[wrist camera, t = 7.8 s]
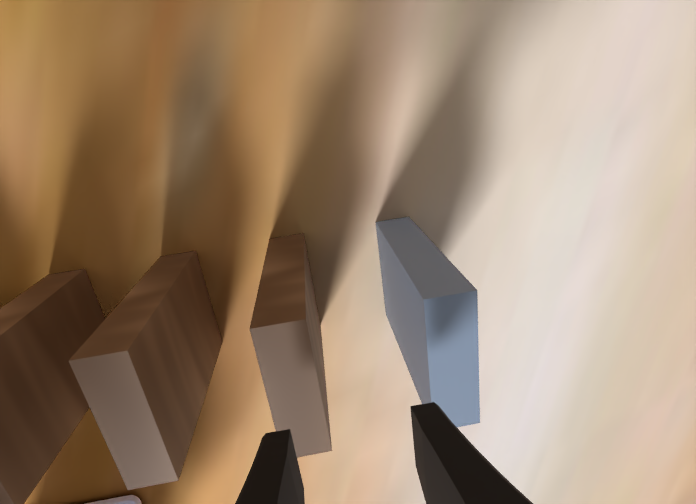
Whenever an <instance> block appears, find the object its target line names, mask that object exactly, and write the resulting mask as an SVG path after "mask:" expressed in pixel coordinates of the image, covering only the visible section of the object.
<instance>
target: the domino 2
mask: <svg viewBox="0 0 696 504" xmlns="http://www.w3.org/2000/svg"><path fill="white" fill-rule="evenodd" d="M221 345H222V339H221V336H220V332H219V329H218V326H217V322H216V319H215V315H214V312H213V308H212V305H211V301H210V298H209V294H208V291H207V287H206V284H205V281H204V277H203V274H202V270H201V267H200V263H199V260H198V256H197V253H196V251H191V252H185V253H179V254H173V255H166V256H161V257H160V258H159V259H158V260H157V261H156V262H155V263H154V265H153V266H152V267H151V268H150V269H149V270H148V271H147V272H146V274H145V275H144V276H143V277H142V278H141V279H140V280H139V282H138V283H137V284H136V285H135V286H134V287H133V288H132V289H131V291H130V292H129V293H128V294H127V295H126V296H125V297H124V298H123V300H122V301H121V302H120V303H119V304H118V305H117V306H116V308H115V309H114V310H113V311H112V312H111V313H110V314H109V315H108V317H107V318H106V319H105V320H104V321H103V322H102V323H101V324H100V326H99V327H98V328H97V329H96V330H95V331H94V332H93V334H92V335H91V336H90V337H89V338H88V339H87V340H86V341H85V343H84V344H83V345H82V346H81V347H80V348H79V349H78V350H77V352H76V353H75V354H74V355H73V356H72V357H71V358H70V360H69V363H70V366H71V368H72V370H73V372H74V374H75V377H76V379H77V381H78V383H79V385H80V387H81V390H82V392H83V394H84V396H85V398H86V400H87V403H88V405H89V407H90V409H91V411H92V413H93V416H94V418H95V420H96V422H97V424H98V426H99V429H100V431H101V433H102V435H103V437H104V439H105V442H106V444H107V446H108V448H109V450H110V452H111V455H112V457H113V459H114V461H115V463H116V466H117V468H118V470H119V472H120V474H121V476H122V479H123V481H124V483H125V485H126V487H127V489H128V490H132V489H137V488H142V487H147V486H153V485H158V484H163V483H168V482H173V481H178V480H179V477H180V474H181V471H182V468H183V465H184V461H185V458H186V455H187V452H188V449H189V446H190V443H191V439H192V436H193V433H194V430H195V427H196V424H197V421H198V417H199V414H200V411H201V408H202V405H203V402H204V399H205V395H206V392H207V389H208V386H209V383H210V380H211V377H212V373H213V370H214V367H215V364H216V361H217V358H218V355H219V351H220V348H221Z"/></svg>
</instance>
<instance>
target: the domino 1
mask: <svg viewBox="0 0 696 504" xmlns="http://www.w3.org/2000/svg"><path fill="white" fill-rule="evenodd" d="M104 320H105V318H104V315H103V313H102V310H101V308H100V305H99V303H98V300H97V298H96V295H95V293H94V290H93V288H92V285H91V283H90V280H89V278H88V275H87V273H86V270H85V269H80V270H74V271H68V272H62V273H56V274H49V275H47V276H46V277H44V278H43V279H42V280H40V281H39V282H37V283H36V284H34V285H33V286H32V287H30V288H29V289H27V290H26V291H24V292H23V293H22V294H20V295H19V296H17V297H16V298H14V299H13V300H12V301H10V302H9V303H7V304H6V305H4V306H3V307H2V308H0V504H24V503H25V501H26V500H27V498H28V497H29V495H30V494H31V493H32V491H33V490H34V488H35V487H36V485H37V484H38V482H39V481H40V479H41V478H42V476H43V475H44V473H45V472H46V470H47V469H48V468H49V466H50V465H51V463H52V462H53V460H54V459H55V457H56V456H57V454H58V453H59V451H60V450H61V448H62V447H63V445H64V444H65V443H66V441H67V440H68V438H69V437H70V435H71V434H72V432H73V431H74V429H75V428H76V426H77V425H78V423H79V422H80V420H81V419H82V418H83V416H84V415H85V413H86V412H87V410H88V409H89V405H88V403H87V400H86V398H85V396H84V394H83V392H82V390H81V387H80V385H79V383H78V381H77V379H76V377H75V374H74V372H73V370H72V368H71V366H70V363H69V360H70V358H71V357H72V356H73V355H74V354H75V353H76V352H77V350H78V349H79V348H80V347H81V346H82V345H83V344H84V343H85V341H86V340H87V339H88V338H89V337H90V336H91V335H92V334H93V332H94V331H95V330H96V329H97V328H98V327H99V326H100V324H101V323H102V322H103V321H104Z"/></svg>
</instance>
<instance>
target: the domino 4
mask: <svg viewBox="0 0 696 504" xmlns="http://www.w3.org/2000/svg"><path fill="white" fill-rule="evenodd" d="M376 230H377V239H378V248H379V257H380V265H381V274H382V283H383V292H384V300H385V309H386V315H387V318H388V320H389V323H390V325H391V328H392V330H393V333H394V335H395V338H396V340H397V343H398V345H399V347H400V350H401V352H402V355H403V357H404V360H405V362H406V365H407V367H408V370H409V372H410V375H411V377H412V380H413V382H414V385H415V387H416V390H417V392H418V395H419V397H420V400H421V402H422V404H426V403H432V402H435V403H436V404H437V405H439V407H440V408H441V409H442V410H443V412H444V413H445V414H446V415H447V417H448V418H449V419H450V420H451V421H452V423H453V424H454V425H455V426H456V427H460V426H466V425H471V424H476V423H480V408H479V358H478V308H477V290H476V289H475V287H474V286H473V285H472V284H471V283H470V282H469V281H468V280H467V279H466V278H465V277H464V276H463V275H462V273H461V272H460V271H459V270H458V269H457V268H456V267H455V266H454V265H453V264H452V263H451V262H450V261H449V260H448V258H447V257H446V256H445V255H444V254H443V253H442V252H441V251H440V250H439V249H438V248H437V247H436V246H435V244H434V243H433V242H432V241H431V240H430V239H429V238H428V237H427V236H426V235H425V234H424V233H423V232H422V230H421V229H420V228H419V227H418V226H417V225H416V224H415V223H414V222H413V221H412V220H411V219H410V218H409V217H404V218H398V219H391V220H385V221H379V222H376Z"/></svg>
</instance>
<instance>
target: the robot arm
mask: <svg viewBox="0 0 696 504" xmlns="http://www.w3.org/2000/svg"><path fill="white" fill-rule="evenodd" d="M411 417H412V428H413V439H414V450H415V461H416V468H417V472H418V475H419V479H420V483H421V486H422V490H423V493H424V497H425V500H426V504H533V503H532V502H531V501H529V500H528V499H527V498H526V497H525V496H524V495H523V494H522V493H521V492H520V491H519V490H517V489H516V488H515V487H514V486H513V485H512V484H511V483H510V482H509V481H508V480H507V479H506V478H505V477H504V476H503V475H502V474H501V473H500V472H498V471H497V470H496V468H495V467H494V466H493V465H492V464H491V463H490V462H489V461H488V460H487V459H486V458H485V457H484V456H483V455H482V454H481V453H480V452H479V451H478V450H477V449H476V448H475V447H474V446H473V445H472V444H471V443H470V442H469V441H468V439H467V438H466V437H465V436H464V435H463V434H462V433H461V432H460V431H459V429H458V428H457V427H456V426H455V425H454V424H453V423H452V421H451V420H450V419H449V418H448V417H447V415H446V414H445V413H444V412H443V410H442V409H441V408H440V407H439V405H437V404H436V403H435V402H432V403H426V404H421V405H416V406H411ZM86 504H142V503H141V501H140V499H139V498H138V497H137V496H135V495H127V496H122V497H117V498H112V499H106V500H101V501H96V502H91V503H86ZM235 504H305V502H304V487H303V483H302V478H301V474H300V470H299V465H298V461H297V457H296V452H295V448H294V443H293V439H292V435H291V430H290V429H287V430H281V431H276V432H271V433H266V434H265V435H264V436H263V438H262V440H261V443H260V446H259V449H258V451H257V454H256V457H255V459H254V462H253V464H252V467H251V469H250V472H249V474H248V476H247V479H246V481H245V483H244V486H243V488H242V490H241V492H240V494H239V497H238V499H237V501H236V503H235Z"/></svg>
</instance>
